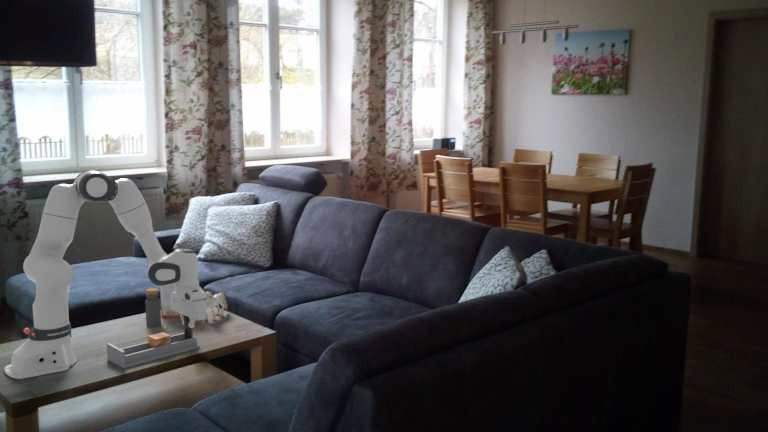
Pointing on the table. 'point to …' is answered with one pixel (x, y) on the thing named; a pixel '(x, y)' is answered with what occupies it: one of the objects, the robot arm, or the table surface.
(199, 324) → the table surface
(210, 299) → the unicorn figurine
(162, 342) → the block and post stand
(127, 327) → the table surface
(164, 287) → the cracker box
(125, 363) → the board
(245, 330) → the table surface
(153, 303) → the bottle
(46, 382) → the table surface
